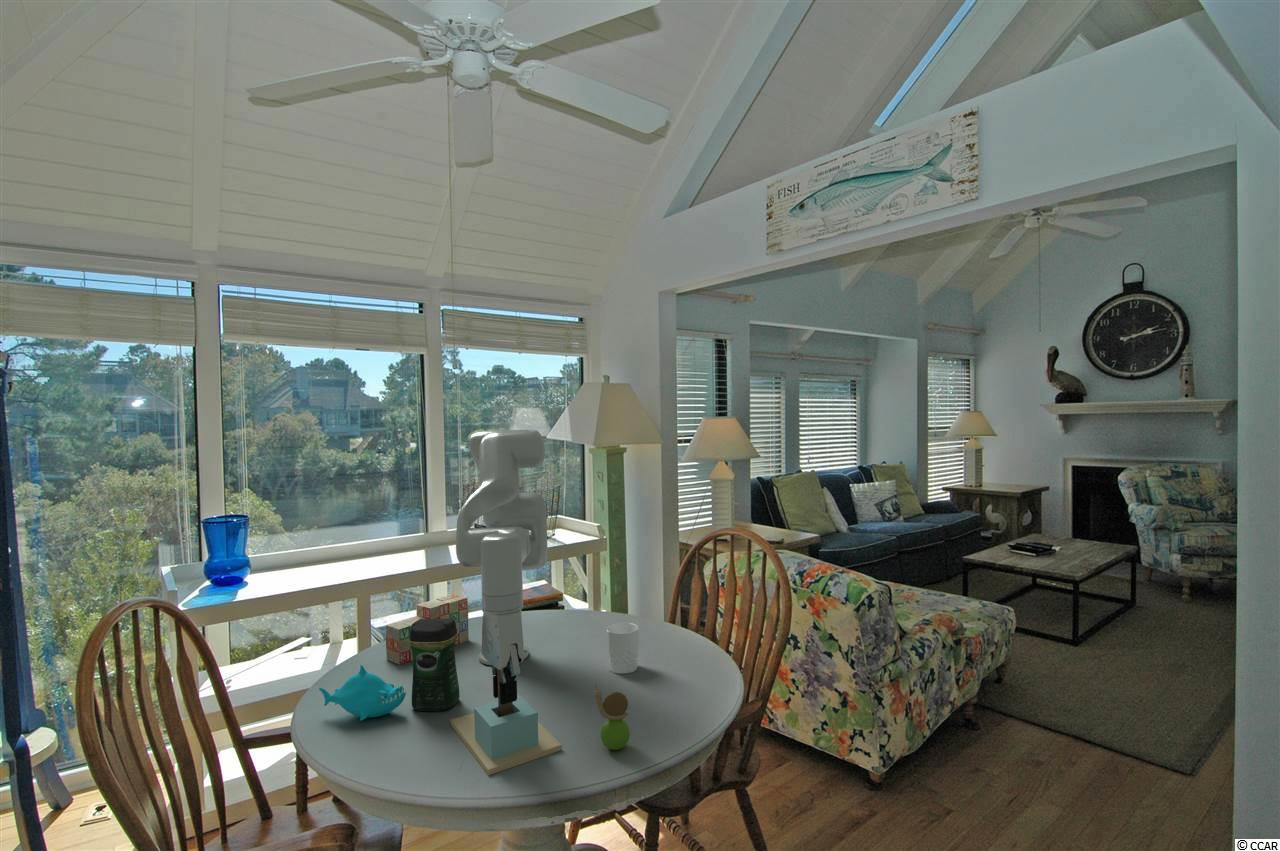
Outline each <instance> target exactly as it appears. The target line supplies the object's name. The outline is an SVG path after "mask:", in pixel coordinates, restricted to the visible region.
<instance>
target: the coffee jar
mask: <svg viewBox="0 0 1280 851" xmlns="http://www.w3.org/2000/svg"><path fill="white" fill-rule="evenodd" d="M456 639H457V628H456V623H455V620H454V619H453V618H451V619H419V620H417V621H416V622H414V623H413V624H412V625H411V629H410V638H409V643H410V646H411V649H412V653H413V660H412V683H411V686H412V687H411V708H413V710H415V711H419V712H421V711H422V712H424V711H425V712H439V711H446V710H448V709H450V708H451V707H454V706H455V705H456V704H457V703H458V702H459V699H460V697H461V696H460V687H459V686H460V684H459V680H458V672H457V664H456V654H455V653H456V652H455V649H456V648H455V646H456V645H455V642H456Z"/></svg>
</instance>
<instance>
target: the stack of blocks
mask: <svg viewBox="0 0 1280 851" xmlns="http://www.w3.org/2000/svg"><path fill="white" fill-rule="evenodd" d="M468 601H469V600H468V597H466V596H462V595H458V594H450V595H448V596H441V597H438V598H435V599H431V600H428V601H425V602H421V603H418V604H416V615H415V616H412V617H408V618H405V619H402V620H401V619H400V620H398V621H395V622H391V623H389V624H386V625H385V652H386V660H387V661H389V662H392V663H395V664H396V665H402V664H406V663H408V662H411V661H412V662H413V653H412V649H411V646H410V643H409V638H410V629H411V625H412V624H413V623H414V622H416V621H417V620H419V619H451V618H453V619H454V620H455V623H456V628H457V639H456V642H455V646H457V645H459V644H462V643H465V642H468V641H469V639H470V638H469V608H468V604H469V603H468Z"/></svg>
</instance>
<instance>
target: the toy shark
mask: <svg viewBox="0 0 1280 851" xmlns="http://www.w3.org/2000/svg"><path fill="white" fill-rule="evenodd" d="M359 667H360V669H359V672H358V673H356V674H354V675H352V676H350V677H348V678H347V680H346V681H345V682H344V683H343V684H342V686H340V687H339V688H335V691H334V693H333V694H331V693H329V692H328V691H327V690H326V689H325V688H323V687H322V686H321V687H319V688H318V690H319V691H320V693H322V695H323V698H324V707H326V706H327V705H328V704H329V703H334V706H335V705H339V706H340V707H341V708H343V709H344V710H345V711H346V712H347V713H349V714H351V715H353V716H356V717H358V718H359V721H361V722H362V721H363V720H366V718H367V719H368V718H369V719H370V718H378V717H382V716H385V715H387V714H389V713H391V712H393V711H394V710H396V709H397V708H398V707H400V705H402V702H403V701H404V699H405V697H406V695H407V692H406V691H405V687H404V686H403V685H398V686H397V687H395V685H394V683H387V682H385V680H383V678H381V677H380V676H378V675H377V674H375V673H372V672H367V670H366V669H365V667H364V666H363V665H362V664H360V666H359Z"/></svg>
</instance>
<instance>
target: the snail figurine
mask: <svg viewBox="0 0 1280 851" xmlns="http://www.w3.org/2000/svg"><path fill="white" fill-rule="evenodd" d="M597 687H598V686H597V684H596V683H594V685H593V688H594V692H593V694H594V698H595V703H596V708H597V709H598V712H599V714H600V715H601V717H603V718H604V719H607V720H605V722H604V723H603V724H602V726H601V727H600V732H599V733H600V739H601V742H602V744H603V745H604V747H606V748H607V749H609V750H611V751H617V750H621V749H623V748H624V747H625V746H626V745H627V744H628V742H629V740H630V736H631V735H630V734H631V733H630V726H629V725H628V723H627V722H626V721H625V720H624V719H625V718H626V717H627V716H628V715H629V712H628V711H627V710H628V706H629V700H628V698H627V696H626V695H625V694H624V693H622V692H619V691H614V692H611V693H609V694H608V695H606V696H605V698H604V700H603V699H602V695H603V693H602V690H596V689H597Z"/></svg>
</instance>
